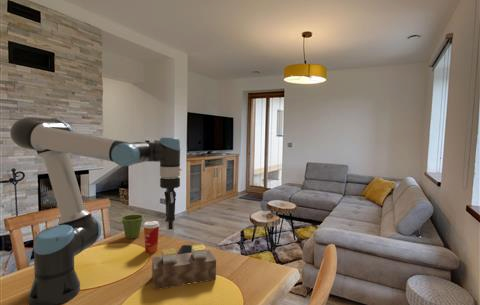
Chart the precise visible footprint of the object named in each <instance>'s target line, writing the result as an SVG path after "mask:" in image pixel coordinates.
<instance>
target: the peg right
mask: <svg viewBox="0 0 480 305" xmlns="http://www.w3.org/2000/svg"><path fill="white" fill-rule="evenodd" d="M206 251H207V247H206V246H205V245H204V243H203V244H195V245H192V259H193V261H196V260H203V259H206Z"/></svg>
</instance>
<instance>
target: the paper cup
mask: <svg viewBox="0 0 480 305" xmlns="http://www.w3.org/2000/svg"><path fill="white" fill-rule="evenodd" d="M142 227H143V230H144V231H143V233H144V234H143V235H144V250H145V252H146V253H148V254H152V253H156V252H157V251H158V243H159V232H160V230H159V228H160V224H159V221H157V220H148V221H145V222H144V224H143V225H142Z"/></svg>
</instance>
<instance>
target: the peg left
mask: <svg viewBox="0 0 480 305" xmlns="http://www.w3.org/2000/svg"><path fill="white" fill-rule="evenodd" d="M176 254H177V250H176V248H175V247H170V248H163V249H161V256H162V265H167V264H174V263H176Z"/></svg>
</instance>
